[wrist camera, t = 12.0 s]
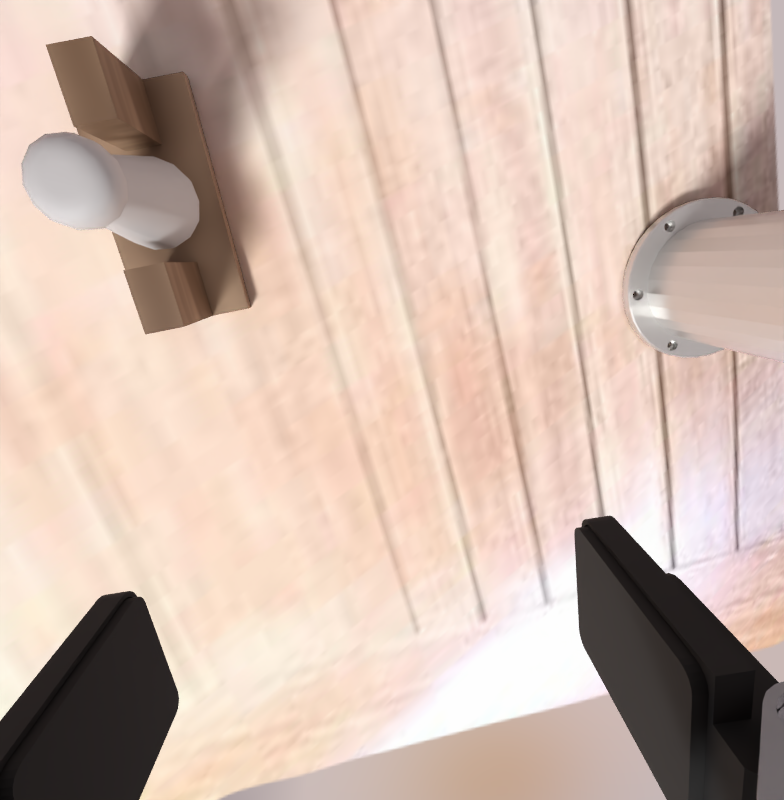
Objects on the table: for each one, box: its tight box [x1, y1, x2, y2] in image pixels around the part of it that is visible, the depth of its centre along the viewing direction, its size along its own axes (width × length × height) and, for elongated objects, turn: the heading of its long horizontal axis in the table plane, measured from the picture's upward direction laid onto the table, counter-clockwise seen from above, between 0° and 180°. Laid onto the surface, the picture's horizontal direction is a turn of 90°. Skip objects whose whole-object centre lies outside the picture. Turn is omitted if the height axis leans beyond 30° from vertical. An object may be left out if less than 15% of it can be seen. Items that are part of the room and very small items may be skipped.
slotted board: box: [46, 36, 251, 334], centre depth 32 cm, size 8×16×8 cm, turn 11°
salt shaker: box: [22, 132, 199, 250], centre depth 28 cm, size 6×6×13 cm
